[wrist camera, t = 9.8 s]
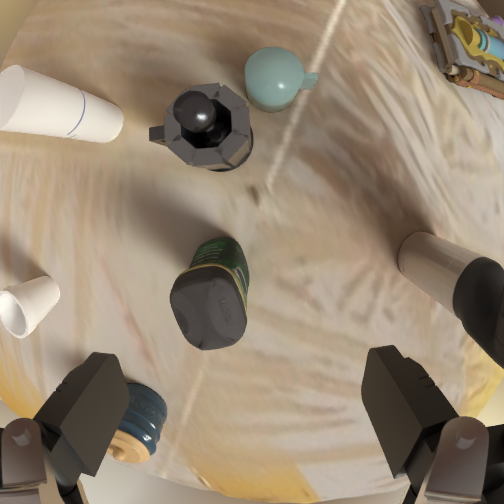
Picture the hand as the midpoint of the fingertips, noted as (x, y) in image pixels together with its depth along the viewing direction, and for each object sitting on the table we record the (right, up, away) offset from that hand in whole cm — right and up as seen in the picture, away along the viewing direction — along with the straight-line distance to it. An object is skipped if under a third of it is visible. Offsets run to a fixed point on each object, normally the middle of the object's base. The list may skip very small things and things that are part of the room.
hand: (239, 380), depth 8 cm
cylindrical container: (-25, +26, +33) cm, 49 cm away
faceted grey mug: (-5, +21, +34) cm, 40 cm away
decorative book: (+48, +49, +27) cm, 74 cm away
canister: (-25, -30, +48) cm, 62 cm away
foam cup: (-42, -4, +41) cm, 59 cm away
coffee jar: (-4, +2, +39) cm, 39 cm away
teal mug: (+4, +29, +32) cm, 43 cm away
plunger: (-4, +20, +30) cm, 36 cm away
